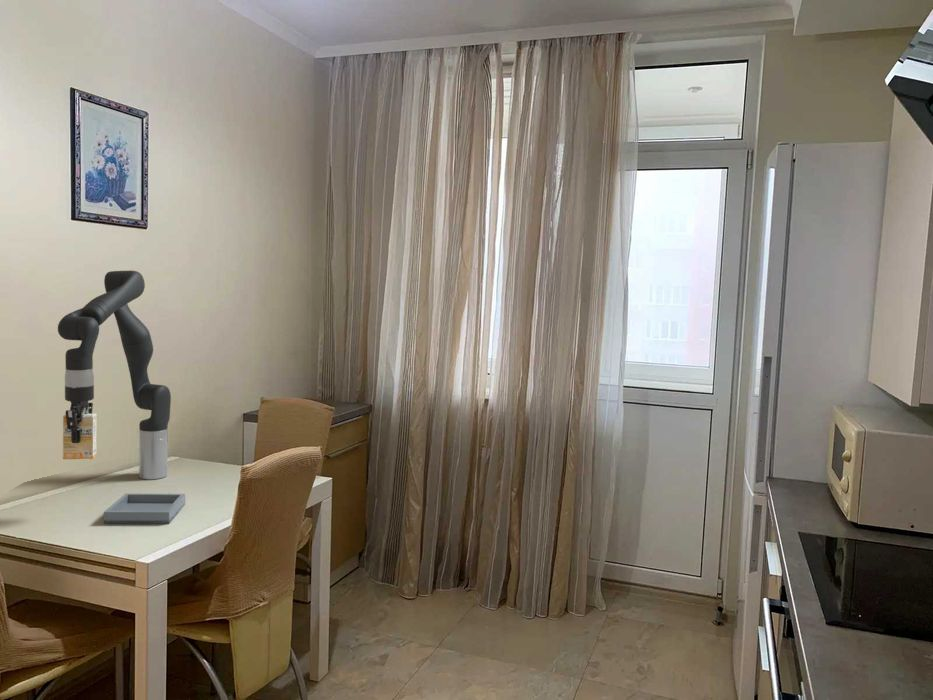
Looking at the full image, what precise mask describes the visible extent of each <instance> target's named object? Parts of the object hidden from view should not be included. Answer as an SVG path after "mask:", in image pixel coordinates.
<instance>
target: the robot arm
mask: <svg viewBox="0 0 933 700" xmlns="http://www.w3.org/2000/svg"><path fill="white" fill-rule="evenodd" d="M103 280H104V289H105V292H104V293H103V294H100V295H98V296H96V297H93V299H91V300H90V301H88V302H87V303H86V304H85V305H84V306H83V307H82V308H78V309H77V310H74V311H72V312H70V313H67V314H66V315H64V316H62V318H61V319H60V321H59V322H58V324H57V332H58V335H59V336H60V337H61V338H63V339H64V340H68V341H81V343H80V345H79V346H78V347H74V348H69V349H67V350H66V352H65V358H64V359H65V373H64V400H65V401H67V402H70V407H69V410H65V414H66V422H67V429H68V430H72V431H71V442H72V443H79V442H80V427H81V423H82V422H83V416H84V414H93V409H94V408H93V407H94V406H93V405H94V403H93V402H89V401H92V400H94V398H95V392H94V391H95V388H94V387H95V385H94V383H95V382H94V381H95V379H94V377H95V376H94V370H93V367H94V365H93V363H94V362H93V361H94V359H93V357H94V356H93V355H94V352H95V347H96V343H97V340H98V337H99V333H100V326H101V325H102V324H103V323H105V322H106V321H107V319H108V318H109V317H111V316H112V315H113V314H114V317H115V320H116V324H117V328H118V332H119V336H120V339H121V343H122V348H123V352H124V355H125V359H126V362H127V366H128V371H129V378H130V382H131V389H132V395H133V400H134V404H135V405H136V406H137V408H138V409H141V410H146V411H151V412H150V417H148V418H145V419H143V420H140V422H139V424H138V426H139V430H138V431H139V434H138V435H139V441H138V442H139V447H138V451H139V452H138V453H139V456H138V458H139V459H138V461H139V463H138V465H139V466H138V467H139V468H138V471H139V472H138V473H139V474H138V476H139V478H140V479H143V480H158V479H163V478H165V477H167V476H168V428H169V427H168V425H169V422H170V418H171V401H172V398H171V395H172V394H171V392H170V389H169V387H168V386H166V385H163V384H155V383H151V382H150V379H149V374H148V367H149V364H150V361H151V360H152V358H153V353H154V345H153V341H152V340H153V339H152V337H151V334H150V331H149V329H148V328H147V326H146V325H145V324H144V322H142V320H140V319H139V318H138V317H137V316H136V315H135V314H134V313H133V311H132V310H131V308H130V307H129V303H131V302H132V301H134V300H136V299H137V298H140V297H141V296H142V295H143V293H144V292H145V291H144V290H145V288H146V287H145V286H146V284H145V279H144V276H143V275H142V273H140V272H139V271H137V270H113V271H111V270H110V271H108V272H106V274H105V275H104V279H103ZM77 418H80V419H79V420H77ZM70 422H71V424H70ZM77 423H78V424H77Z"/></svg>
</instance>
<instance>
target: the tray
mask: <svg viewBox="0 0 933 700" xmlns="http://www.w3.org/2000/svg"><path fill="white" fill-rule="evenodd" d="M185 505H186V493H133V492H132V493H129V492H128V493H124V494H123V495H122V496H121V497H120V498H118V499H117V500H116V501H115V502H114V503H112V504H111V506H109V507H108V508H107V509H105V511H103V524H104V525H165V524H166V525H170V524H171V523H172V521H173V520H174V519H175V517H176V516H177V515H178V514H179V513H180V511H181V510H183V508H184V507H185Z"/></svg>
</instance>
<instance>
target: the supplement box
mask: <svg viewBox="0 0 933 700" xmlns="http://www.w3.org/2000/svg"><path fill="white" fill-rule="evenodd" d="M97 415H98V414H97V413H92V414H84V416H83V422H82V423H81V427H80V442H79V443H72V442H71V431H72V430H68V429H67V422H66V413H65V414H64V415H63V416H62V459H63V460H85V459H89V460H93V459H94V458H95V457H97V433H98V432H97V431H98V430H97V423H98V420H97ZM79 419H80V418H77V420H79ZM70 424H71V422H70ZM77 424H78V423H77Z"/></svg>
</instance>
